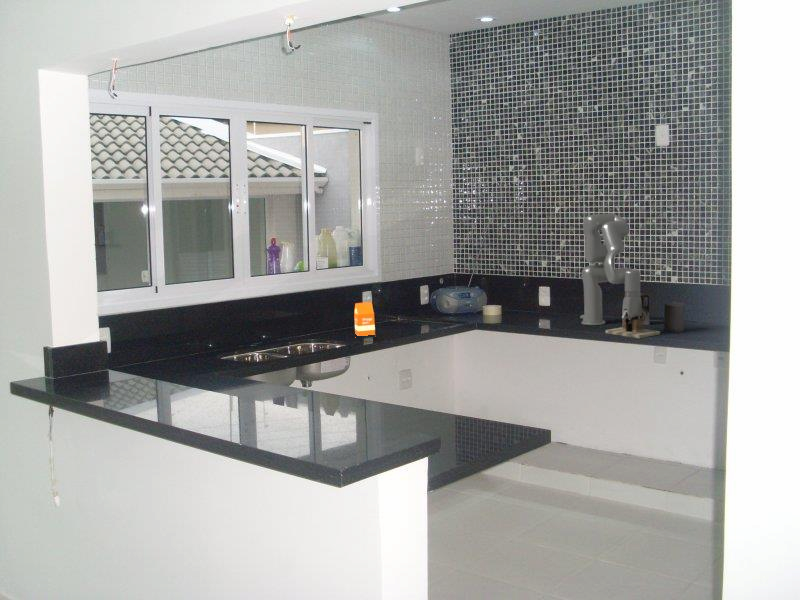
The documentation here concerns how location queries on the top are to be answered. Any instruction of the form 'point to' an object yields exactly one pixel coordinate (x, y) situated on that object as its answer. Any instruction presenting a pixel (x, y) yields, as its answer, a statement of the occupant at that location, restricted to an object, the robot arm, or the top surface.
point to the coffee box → (645, 308)
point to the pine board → (632, 333)
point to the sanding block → (634, 325)
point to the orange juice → (364, 319)
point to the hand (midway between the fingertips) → (632, 330)
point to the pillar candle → (674, 317)
